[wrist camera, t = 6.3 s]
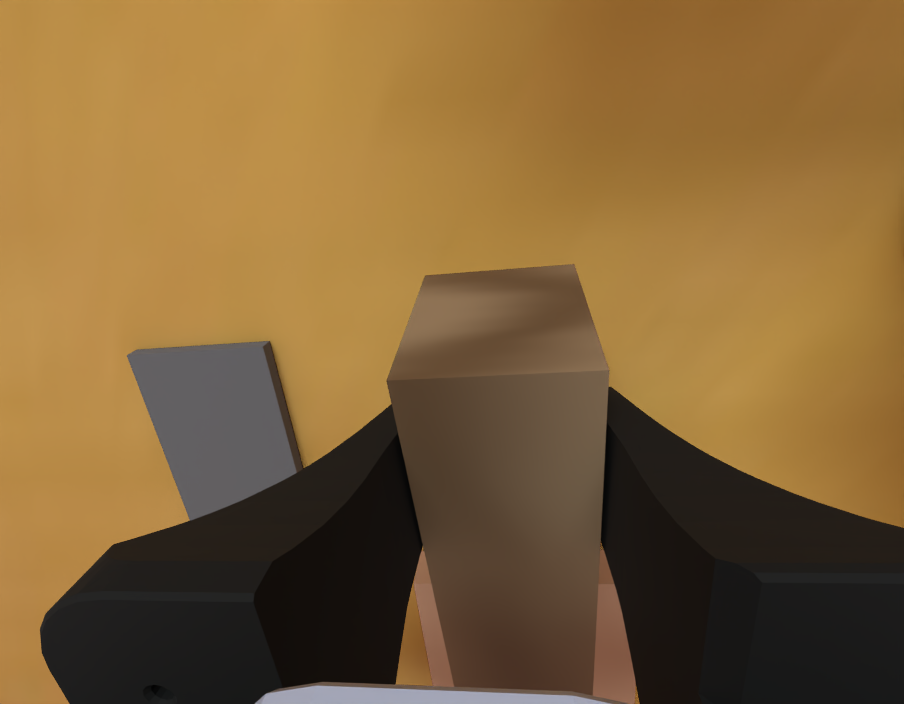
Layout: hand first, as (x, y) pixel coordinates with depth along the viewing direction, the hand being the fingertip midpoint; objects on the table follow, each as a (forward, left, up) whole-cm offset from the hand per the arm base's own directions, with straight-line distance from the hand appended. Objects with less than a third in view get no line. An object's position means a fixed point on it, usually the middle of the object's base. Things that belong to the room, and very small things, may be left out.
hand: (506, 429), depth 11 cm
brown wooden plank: (0, +2, -2) cm, 3 cm away
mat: (+10, +6, -5) cm, 13 cm away
